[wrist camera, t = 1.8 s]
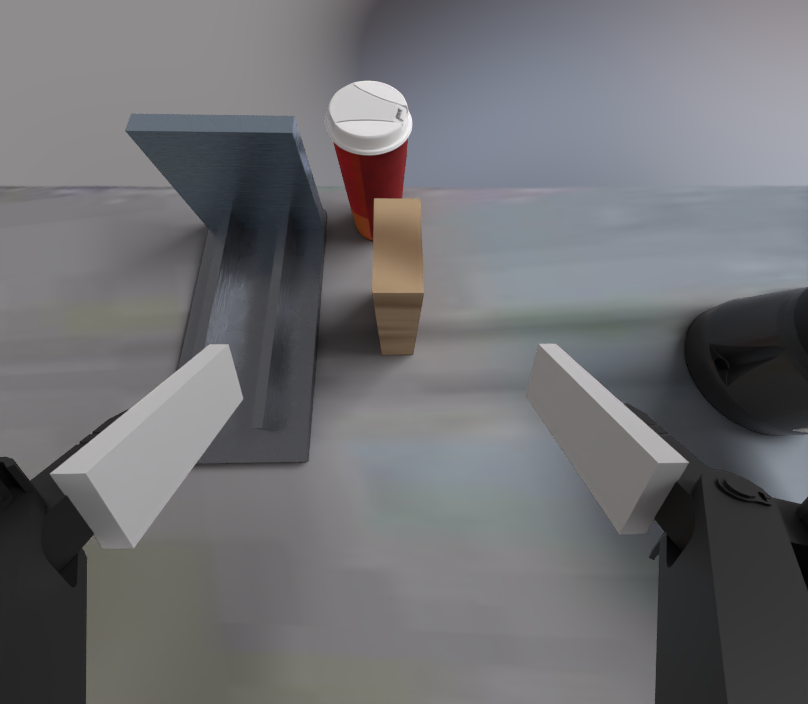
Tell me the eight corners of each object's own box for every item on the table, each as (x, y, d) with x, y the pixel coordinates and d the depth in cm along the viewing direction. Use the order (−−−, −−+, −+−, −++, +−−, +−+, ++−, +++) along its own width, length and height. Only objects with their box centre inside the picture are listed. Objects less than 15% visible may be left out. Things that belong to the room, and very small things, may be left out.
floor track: (308, 461, 30) (247, 469, 18) (164, 463, 30) (0, 473, 17) (327, 215, 39) (295, 108, 27) (217, 214, 39) (134, 105, 27)
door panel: (413, 354, 34) (424, 292, 21) (381, 354, 34) (372, 293, 21) (411, 290, 36) (420, 198, 23) (382, 290, 36) (374, 198, 23)
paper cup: (413, 206, 40) (421, 85, 27) (399, 254, 38) (401, 148, 25) (356, 194, 41) (336, 69, 27) (338, 240, 38) (308, 129, 25)
